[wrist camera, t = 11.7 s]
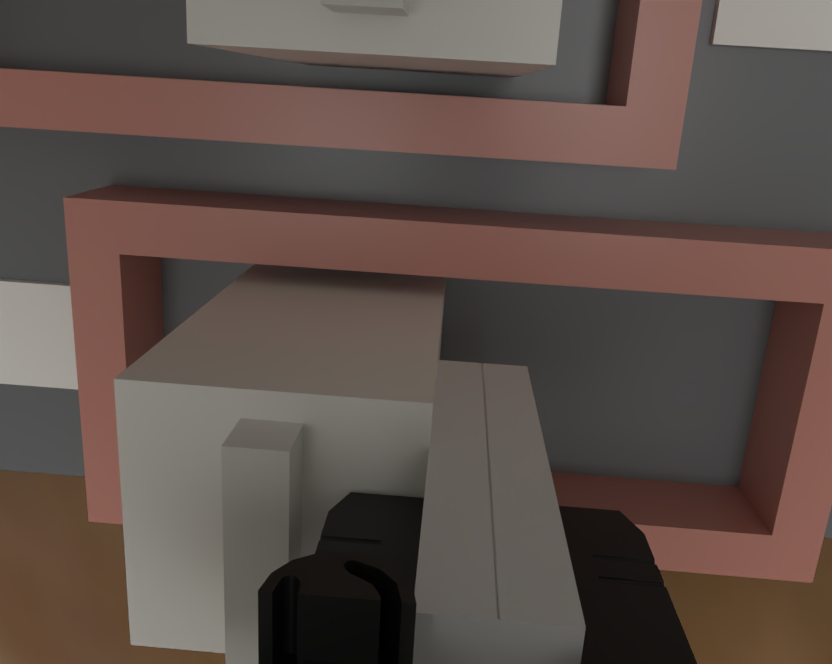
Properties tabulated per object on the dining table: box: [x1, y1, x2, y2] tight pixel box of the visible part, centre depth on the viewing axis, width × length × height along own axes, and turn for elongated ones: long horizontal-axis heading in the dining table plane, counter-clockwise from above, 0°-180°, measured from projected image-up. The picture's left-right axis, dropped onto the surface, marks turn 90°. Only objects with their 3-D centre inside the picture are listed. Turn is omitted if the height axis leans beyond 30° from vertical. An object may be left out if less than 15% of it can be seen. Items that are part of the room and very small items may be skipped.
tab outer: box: [114, 264, 446, 664], centre depth 13 cm, size 4×4×8 cm
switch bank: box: [0, 0, 832, 583], centre depth 16 cm, size 15×24×4 cm, turn 87°
